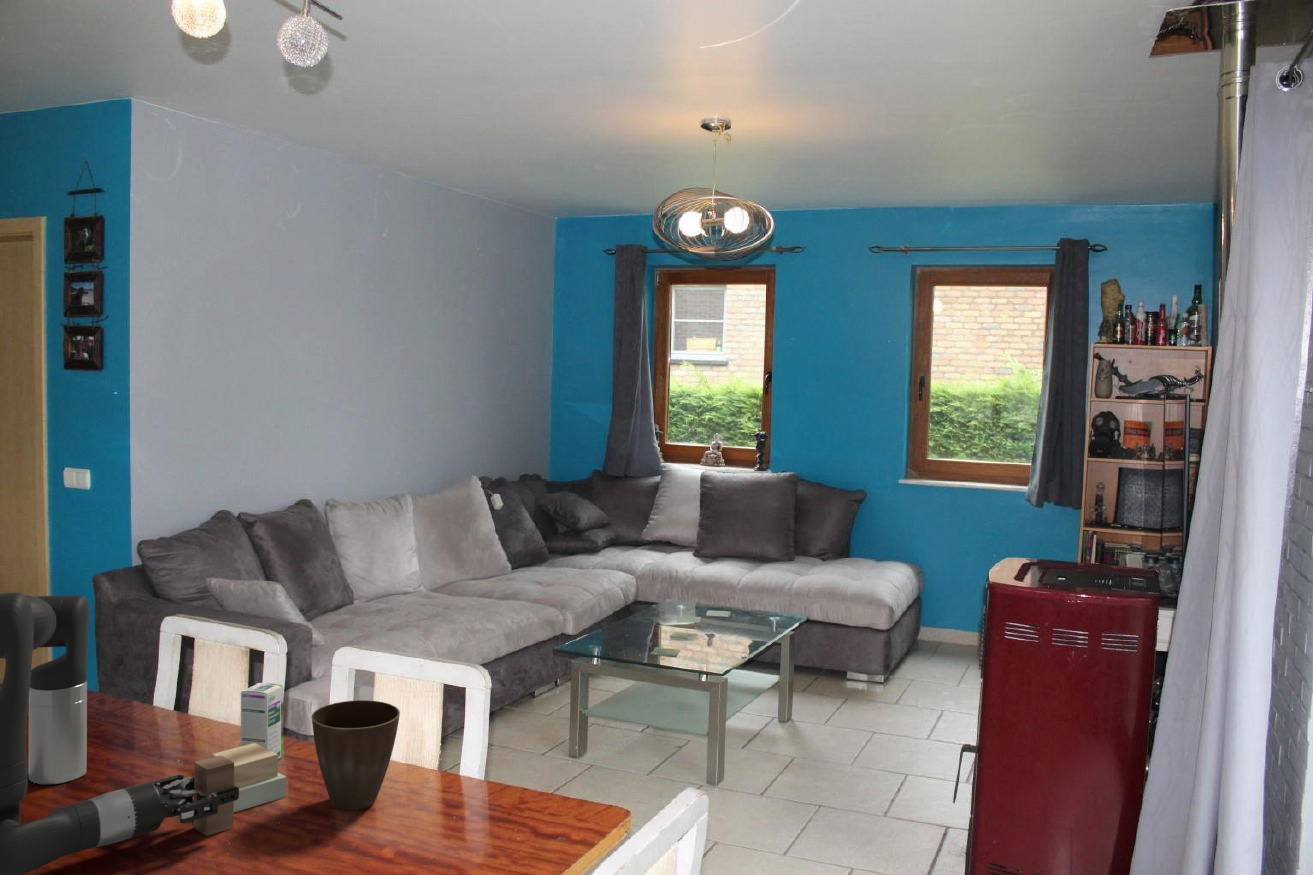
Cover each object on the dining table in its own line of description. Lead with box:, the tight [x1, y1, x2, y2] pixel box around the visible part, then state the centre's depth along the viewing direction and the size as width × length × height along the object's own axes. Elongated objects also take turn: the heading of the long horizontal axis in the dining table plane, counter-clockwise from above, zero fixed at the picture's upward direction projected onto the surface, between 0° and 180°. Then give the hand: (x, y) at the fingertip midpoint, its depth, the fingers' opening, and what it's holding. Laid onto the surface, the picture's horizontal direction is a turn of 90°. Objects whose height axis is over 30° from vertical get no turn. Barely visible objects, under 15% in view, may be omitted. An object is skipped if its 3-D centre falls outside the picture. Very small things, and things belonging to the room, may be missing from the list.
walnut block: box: [193, 756, 235, 837], centre depth 170 cm, size 4×4×11 cm
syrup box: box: [240, 682, 284, 760], centre depth 200 cm, size 6×6×14 cm
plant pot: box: [311, 699, 401, 811], centre depth 182 cm, size 15×15×16 cm
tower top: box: [211, 743, 279, 788], centre depth 183 cm, size 8×8×4 cm
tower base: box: [234, 772, 287, 813], centre depth 183 cm, size 10×10×4 cm
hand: (226, 785), depth 172 cm, fingers open, 7 cm apart
